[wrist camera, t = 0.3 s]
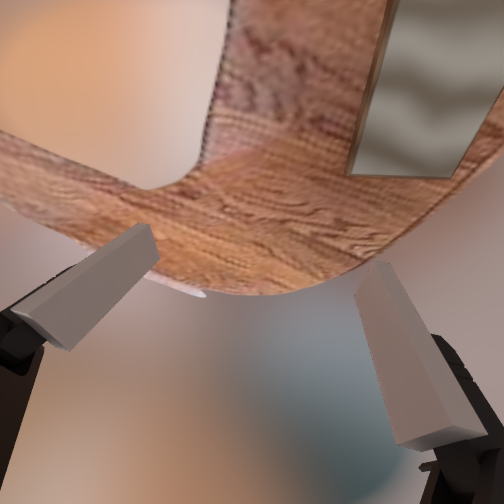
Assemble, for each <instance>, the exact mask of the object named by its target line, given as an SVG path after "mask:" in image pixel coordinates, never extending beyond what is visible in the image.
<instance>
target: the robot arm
mask: <svg viewBox="0 0 504 504" xmlns="http://www.w3.org/2000/svg"><path fill="white" fill-rule="evenodd" d="M159 259H160V256H159V253H158V250H157V246H156V243H155V240H154V237H153V234H152V231H151V227H150V224H144V223H137V224H136V225H134V226H133V227H131V228H130V229H128V230H127V231H125V232H124V233H122V234H121V235H119V236H118V237H116V238H115V239H113V240H112V241H110V242H109V243H108V244H106V245H105V246H103V247H102V248H100V249H99V250H97V251H96V252H94V253H93V254H91V255H90V256H88V257H87V258H85V259H84V260H82V261H81V262H79V263H78V264H75V265H73V266H71V267H69V268H67V269H65V270H64V271H62V272H61V273H59V274H57V275H56V277H53V278H52V279H50V280H48V281H47V282H46V284H42V285H41V286H39V287H38V288H36V289H35V290H33V291H32V292H30V293H29V294H27V295H26V296H24V297H23V298H21V299H20V300H18V301H17V302H15V303H14V304H12V305H11V306H9V307H7V308H6V309H4V310H3V311H1V312H0V490H1V486H2V483H3V480H4V477H5V473H6V471H7V467H8V464H9V461H10V458H11V455H12V452H13V449H14V445H15V442H16V439H17V436H18V432H19V430H20V426H21V423H22V420H23V417H24V414H25V411H26V407H27V404H28V401H29V398H30V395H31V391H32V389H33V386H34V382H35V379H36V376H37V373H38V370H39V366H40V363H41V360H42V357H43V354H44V347H43V346H42V344H44V343H45V342H46V341H48V342H49V343H51V344H52V345H53V346H54V347H56V348H59V349H63V350H66V351H71V350H72V349H73V348H74V347H75V346H76V345H77V344H78V343H79V342H80V341H81V340H82V339H83V338H84V337H85V336H86V335H87V333H88V332H89V331H90V330H91V329H92V328H93V327H94V326H95V325H96V324H97V323H98V322H99V321H100V320H101V319H102V318H103V317H104V316H105V315H106V314H107V313H108V312H109V311H110V310H111V309H112V308H113V307H114V306H115V305H116V304H117V303H118V302H119V301H120V300H121V299H122V297H123V296H124V295H125V294H126V293H127V292H128V291H129V290H130V289H131V288H132V287H133V286H134V285H135V284H136V283H137V282H138V281H139V280H140V279H141V278H142V277H143V276H144V275H145V274H146V273H147V272H148V271H149V270H150V269H151V268H152V267H153V266H154V265H155V264H156V263H157V262H158V261H159ZM354 296H355V300H356V303H357V307H358V310H359V314H360V317H361V321H362V325H363V328H364V331H365V335H366V339H367V342H368V346H369V349H370V353H371V357H372V360H373V364H374V367H375V371H376V374H377V378H378V381H379V384H380V388H381V392H382V395H383V399H384V402H385V406H386V410H387V413H388V417H389V420H390V424H391V428H392V431H393V435H394V438H395V442H396V445H399V446H402V447H406V448H409V449H413V450H416V451H420V452H423V451H427V450H431V449H433V450H434V453H435V455H436V458H437V460H436V461H431V462H426V463H422V464H421V465H420V466H419V469H420V470H421V471H422V472H425V471H430V474H429V477H428V480H427V483H426V486H425V489H424V492H423V495H422V499H421V501H420V504H504V426H503V425H502V423H501V422H500V420H499V419H498V417H497V415H496V414H495V412H494V411H493V409H492V408H491V406H490V404H489V403H488V401H487V400H486V398H485V397H484V395H483V393H482V392H481V391H480V389H479V387H478V386H477V384H476V383H475V382H473V378H472V377H471V375H470V373H469V372H468V370H467V369H466V368H464V364H463V362H462V361H461V359H460V358H459V356H458V355H457V353H456V351H455V350H454V349H453V348H452V347H451V346H450V345H449V344H448V343H447V342H446V341H445V340H444V339H443V338H442V337H441V336H439V335H434V334H430V333H429V331H428V329H427V327H426V326H425V324H424V322H423V320H422V319H421V317H420V315H419V313H418V312H417V310H416V309H415V307H414V305H413V303H412V301H411V300H410V298H409V296H408V294H407V293H406V291H405V289H404V288H403V286H402V284H401V282H400V280H399V279H398V277H397V275H396V274H395V272H394V270H393V268H392V267H391V265H390V263H385V262H378V261H374V262H373V264H372V265H371V267H370V269H369V270H368V272H367V274H366V276H365V277H364V279H363V281H362V283H361V284H360V286H359V288H358V290H357V292H356V293H355V295H354Z"/></svg>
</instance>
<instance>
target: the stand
mask: <svg viewBox="0 0 504 504" xmlns="http://www.w3.org/2000/svg"><path fill="white" fill-rule="evenodd" d="M503 89H504V0H388V2H387V6H386V10H385V14H384V18H383V22H382V26H381V30H380V33H379V37H378V41H377V45H376V49H375V53H374V57H373V61H372V65H371V69H370V73H369V77H368V80H367V84H366V88H365V92H364V96H363V100H362V104H361V108H360V112H359V116H358V120H357V123H356V127H355V131H354V135H353V139H352V143H351V147H350V151H349V155H348V159H347V163H346V167H345V170H344V173H345V174H346V176H353V177H382V178H410V179H439V180H451V178H452V176H453V175H454V173H455V171H456V170H457V168H458V166H459V164H460V163H461V161H462V159H463V158H464V156H465V154H466V152H467V151H468V149H469V147H470V146H471V144H472V142H473V140H474V139H475V137H476V135H477V134H478V132H479V130H480V128H481V127H482V125H483V123H484V122H485V120H486V118H487V116H488V115H489V113H490V111H491V110H492V108H493V106H494V104H495V103H496V101H497V99H498V98H499V96H500V94H501V92H502V91H503Z"/></svg>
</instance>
